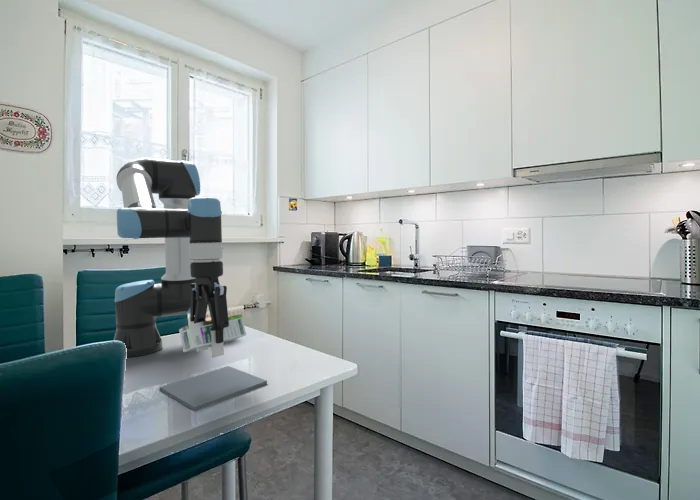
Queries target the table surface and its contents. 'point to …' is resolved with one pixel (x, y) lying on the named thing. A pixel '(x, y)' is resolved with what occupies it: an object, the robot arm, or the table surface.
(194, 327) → the syrup box
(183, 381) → the mat
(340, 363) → the table surface
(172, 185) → the robot arm
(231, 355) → the table surface
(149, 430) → the table surface
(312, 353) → the table surface
